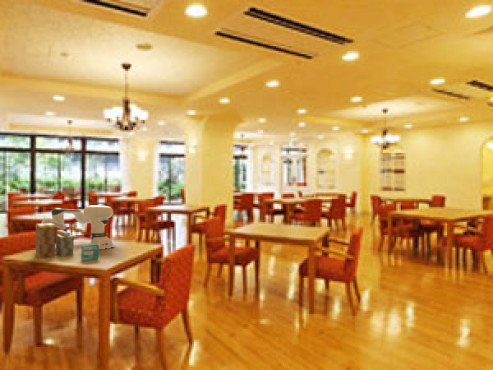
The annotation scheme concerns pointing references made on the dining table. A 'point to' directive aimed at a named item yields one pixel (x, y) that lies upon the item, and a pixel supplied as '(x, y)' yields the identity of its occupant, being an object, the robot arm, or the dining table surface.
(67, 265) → the dining table surface
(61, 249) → the grey marbled block
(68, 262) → the dining table surface
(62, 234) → the sanding stick
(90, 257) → the data package
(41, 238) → the tall stand
